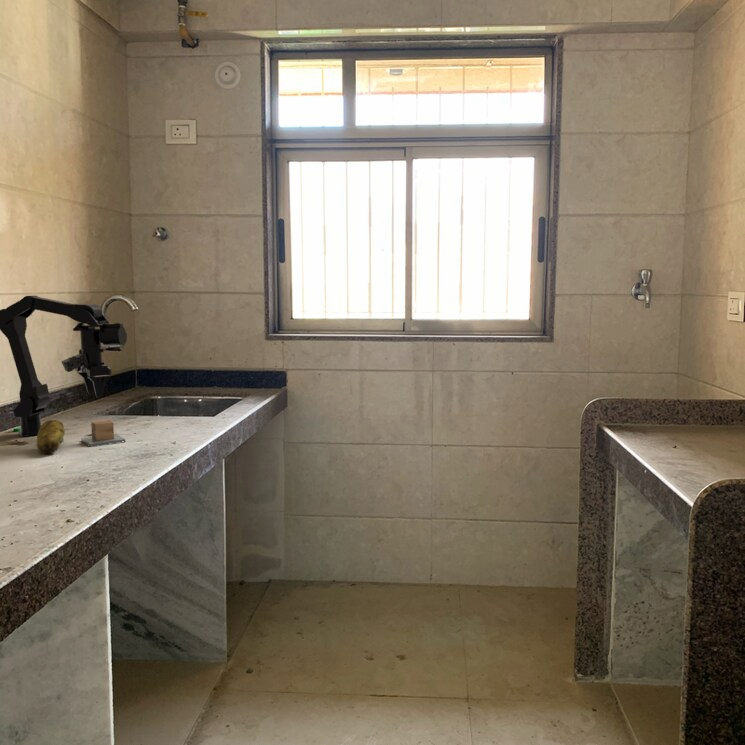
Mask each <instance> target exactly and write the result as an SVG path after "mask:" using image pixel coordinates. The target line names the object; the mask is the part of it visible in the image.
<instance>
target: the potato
mask: <svg viewBox="0 0 745 745" xmlns="http://www.w3.org/2000/svg"><path fill="white" fill-rule="evenodd" d="M64 436H65V428H64V424H63V422H61V421H59V420H56V419H49V420H46V421H45V422H43V423H41V427H40V429H39V432H38V435H36V448H37V450H38V451H39V452H40V453H42V454H48V455H50V454H53V453H55V452H56V451H58V450H59V448H60V445H61V444H62V443H63V442H62V440H63V438H64Z"/></svg>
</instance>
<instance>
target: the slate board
mask: <svg viewBox="0 0 745 745" xmlns="http://www.w3.org/2000/svg"><path fill="white" fill-rule="evenodd" d="M80 439H81V440H80V441H81V442H82V441H83V443H84V444H85V443H86V444H85V445H86V446H88V445H89V446H88V447H90V446H92V447H97V445H99V446H104V444H107V445H110V444H109V443H114V444H117V443H116V442H121V443H123V442H122V441H125V442H126V438H124V437H122V436H121V435H119V434H117V433H114V439H110V440H102V441H95V440H94V439H92V436H88V437H87V436H86V437H81V438H80Z"/></svg>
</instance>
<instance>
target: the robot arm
mask: <svg viewBox="0 0 745 745" xmlns="http://www.w3.org/2000/svg"><path fill="white" fill-rule="evenodd" d="M102 310H103V309H101V306H99V304H96V303H71V302H66V301H60V300H56V299H50V298H45V297H40V296H38V295H26V296H24V297H23V298H21V299H19V300H18V301H16V302H14V303H12V304H10V305H8V306H7V307H6V308H2V309H0V332H1V333H2V334H3V335H4V336H5V337H6V338H7V340H8V344H9V346H10V350H11V351H10V352H11V355H12V358H13V361H14V364H15V367H16V370H17V373H18V378H19V382H20V389H19V393H18V394H19V401H20V402H19V403H18V404H17V406H15V407H14V409H13V410H12V413H13V415H14V417H15V418H19V420H20V421H19V422H20V431H19V432H18V435H19V436H21V437H30V436H37V435H38V432H39V429H40V427H41V425H42V422H41V414H42V413H45V411H46V409H47V406H48V405H49V404H50V401H51V400H50V397H52V395H51V393H50V392H49V386H48V384H47V383H41V382H40V381H39V379H38V375H37V371H36V369H35V365H34V362H33V358H32V355H31V351H30V348H29V345H28V341H27V339H26V331H27V328H28V325H27V319H28V318H29V317H30V316H32V314H33V313H34V312H35V311H40V312H41V311H42V312H45V313H51V314H55V315H60V316H65V317H67V318H69V319H71V320H73V321H76V322H78V323H77V325H75V326H74V328H72V331H73V332H80V348H79V350H78V354H76V355H72V356H69V357H68V358H66V359H64V360H61V365H62V366H63V368H64V370H65V372H67V373H70V372H73V371H75V372H76V373H77V375H79V376H80V377H81V378H82V379H83V382H84V385H85V388H86V391H87V393H88V395H89V396H90V395H93V394H94V393H95V397H96V399H101V398H102V395H103V393H104V390H105V388H106V385H107V383H108V380H109V378H110V377H111V375H112V368H111V367H110V366H109V365H107V364H105V362H104V361H103V353H104V348H103V347H102V345H104V346H125V345H126V344H127V340H128V334H127V331H126V328H125V327H124V323H123V322H115V323H111V322H110V321H109V320H108V318H106V316H105V315H104V314H103V311H102Z"/></svg>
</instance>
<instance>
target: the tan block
mask: <svg viewBox="0 0 745 745" xmlns="http://www.w3.org/2000/svg"><path fill="white" fill-rule="evenodd" d="M90 425H91V437H92V439H94V440H95V441H102V440H110V439H114V434H115V430H114V429H115V428H114V421H111V420H110V419H104V420H103V419H101V420H96V421H90Z"/></svg>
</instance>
